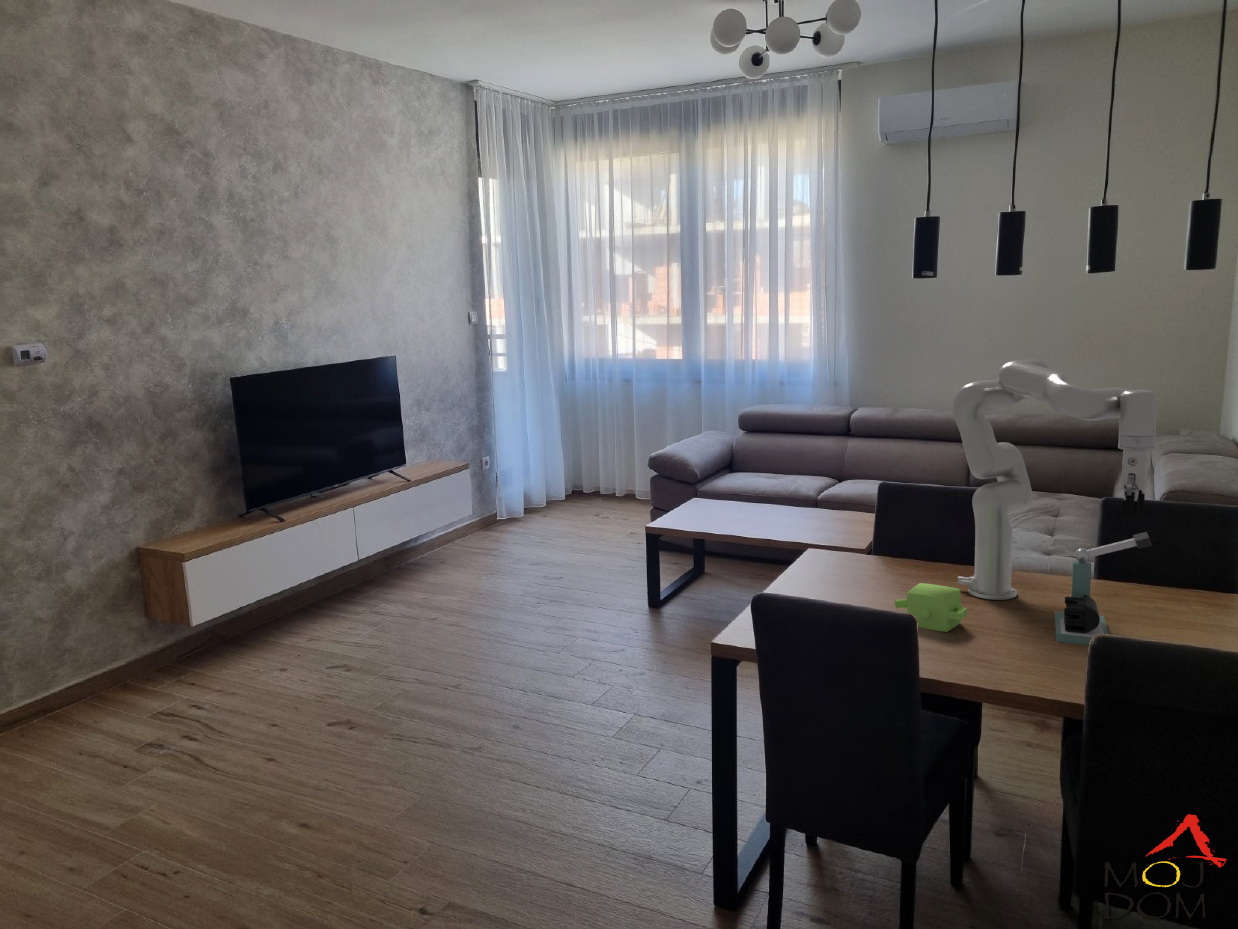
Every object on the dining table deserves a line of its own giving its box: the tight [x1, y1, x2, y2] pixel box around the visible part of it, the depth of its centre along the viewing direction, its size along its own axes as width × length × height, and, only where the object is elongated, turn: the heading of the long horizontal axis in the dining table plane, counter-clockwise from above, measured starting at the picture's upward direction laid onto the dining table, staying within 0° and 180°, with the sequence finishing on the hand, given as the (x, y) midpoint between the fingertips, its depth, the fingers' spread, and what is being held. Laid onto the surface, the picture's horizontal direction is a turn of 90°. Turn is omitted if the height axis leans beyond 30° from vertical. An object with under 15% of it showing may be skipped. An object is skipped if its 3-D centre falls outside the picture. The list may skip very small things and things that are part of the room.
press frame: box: [1054, 560, 1109, 646], centre depth 215 cm, size 11×17×16 cm, turn 155°
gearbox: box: [894, 582, 968, 633], centre depth 225 cm, size 18×10×10 cm, turn 47°
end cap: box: [1063, 595, 1100, 633], centre depth 212 cm, size 10×7×7 cm
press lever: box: [1074, 531, 1153, 562], centre depth 215 cm, size 16×6×3 cm, turn 65°
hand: (1133, 513), depth 210 cm, fingers open, 9 cm apart
